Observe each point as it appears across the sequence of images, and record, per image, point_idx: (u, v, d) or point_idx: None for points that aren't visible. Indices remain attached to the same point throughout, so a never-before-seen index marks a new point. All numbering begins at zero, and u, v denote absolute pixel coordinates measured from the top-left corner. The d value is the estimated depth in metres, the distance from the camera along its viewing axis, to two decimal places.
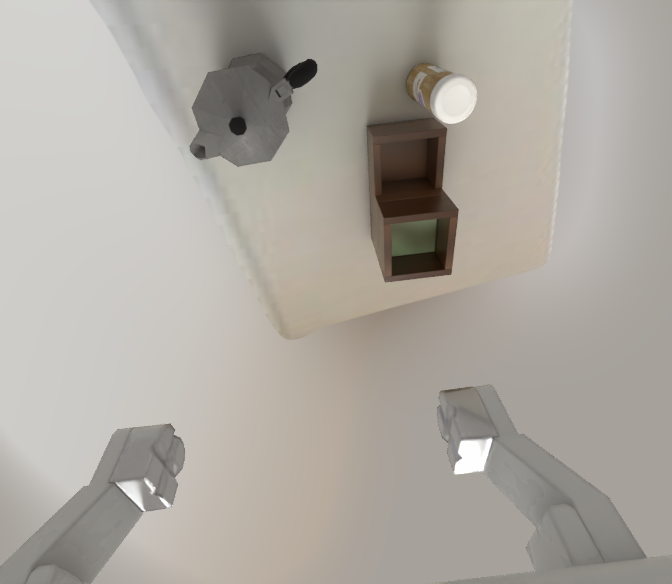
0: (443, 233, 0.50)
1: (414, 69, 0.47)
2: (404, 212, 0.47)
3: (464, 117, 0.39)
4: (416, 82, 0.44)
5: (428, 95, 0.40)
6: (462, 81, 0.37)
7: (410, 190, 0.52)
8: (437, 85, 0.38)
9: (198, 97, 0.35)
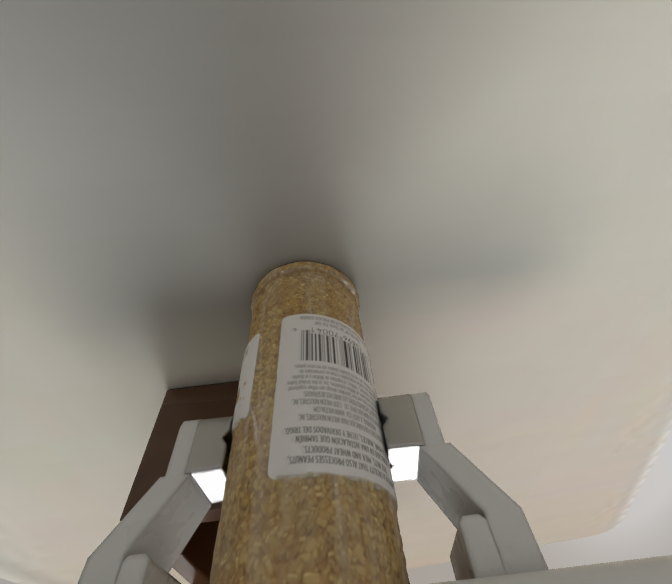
0: None
1: (265, 283, 0.14)
2: None
3: None
4: (238, 388, 0.11)
5: None
6: None
7: None
8: None
9: None
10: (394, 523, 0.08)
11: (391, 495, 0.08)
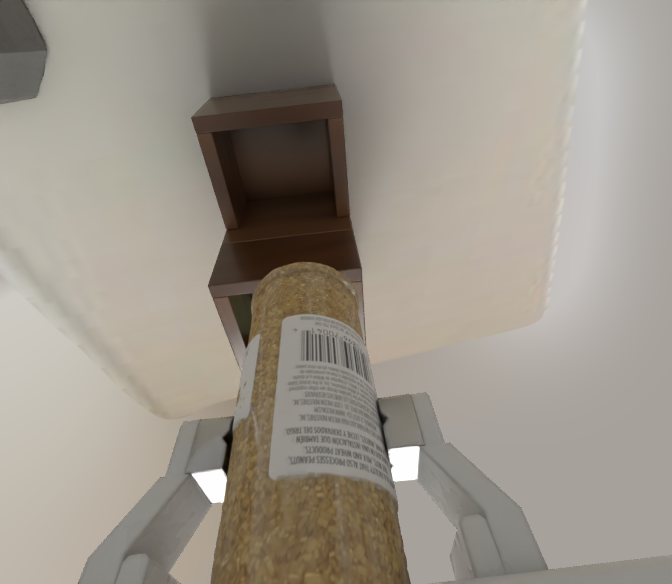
0: None
1: (265, 284, 0.14)
2: (255, 271, 0.23)
3: None
4: None
5: None
6: None
7: (294, 218, 0.28)
8: None
9: None
10: (395, 523, 0.08)
11: (392, 495, 0.08)
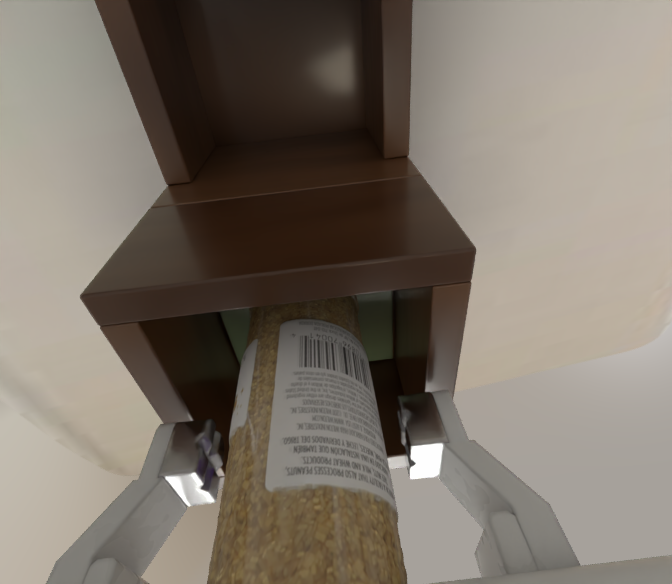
0: (411, 331, 0.13)
1: None
2: (207, 260, 0.09)
3: None
4: None
5: None
6: None
7: (300, 163, 0.15)
8: None
9: None
10: (395, 536, 0.08)
11: (391, 506, 0.08)
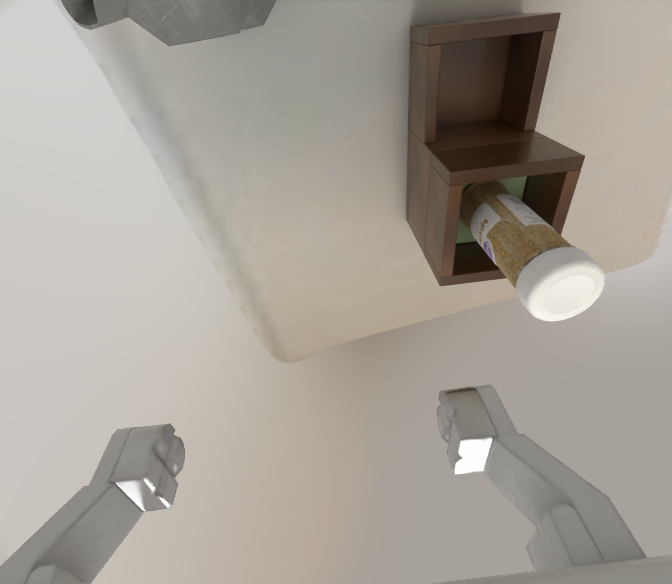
0: (542, 203, 0.29)
1: (471, 189, 0.31)
2: (486, 162, 0.26)
3: (576, 313, 0.23)
4: (480, 222, 0.28)
5: (510, 266, 0.24)
6: (585, 270, 0.21)
7: (482, 134, 0.32)
8: (534, 267, 0.22)
9: None
10: None
11: None
